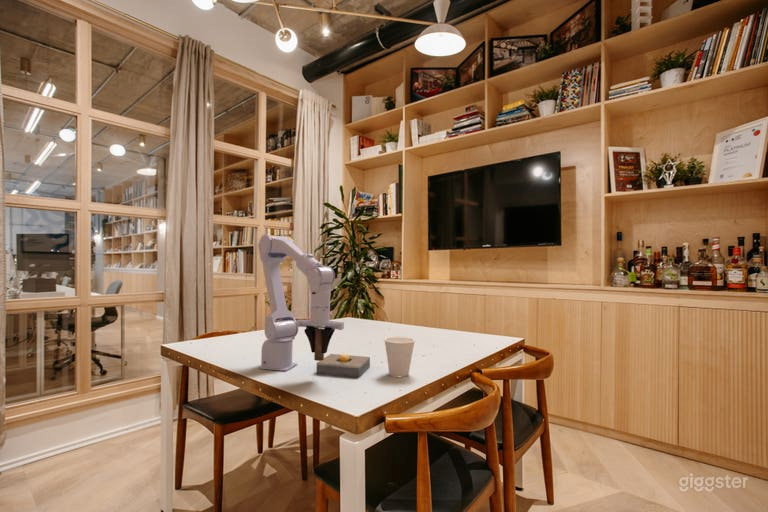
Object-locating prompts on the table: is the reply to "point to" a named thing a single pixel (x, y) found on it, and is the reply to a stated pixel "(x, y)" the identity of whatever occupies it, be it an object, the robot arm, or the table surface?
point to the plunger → (344, 358)
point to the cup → (399, 354)
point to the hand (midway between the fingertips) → (319, 352)
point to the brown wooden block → (318, 345)
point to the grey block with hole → (343, 366)
